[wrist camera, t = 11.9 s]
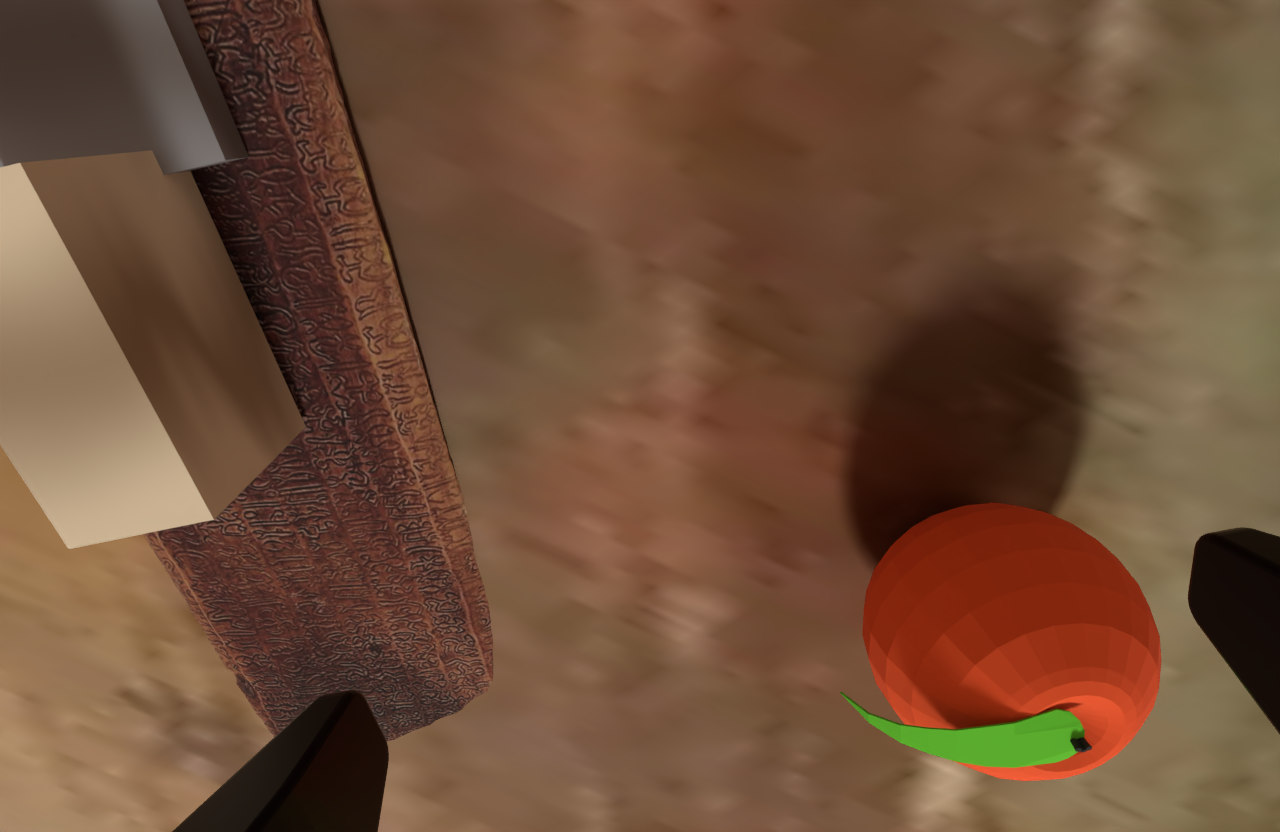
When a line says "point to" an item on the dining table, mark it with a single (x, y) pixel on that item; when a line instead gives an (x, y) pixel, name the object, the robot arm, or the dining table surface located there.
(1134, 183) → the dining table surface
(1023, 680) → the clementine
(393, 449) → the wooden tablet
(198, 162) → the two-tone stacked block
